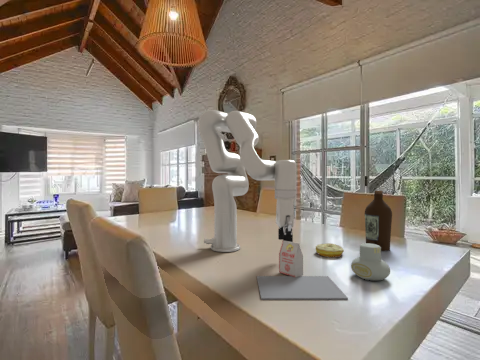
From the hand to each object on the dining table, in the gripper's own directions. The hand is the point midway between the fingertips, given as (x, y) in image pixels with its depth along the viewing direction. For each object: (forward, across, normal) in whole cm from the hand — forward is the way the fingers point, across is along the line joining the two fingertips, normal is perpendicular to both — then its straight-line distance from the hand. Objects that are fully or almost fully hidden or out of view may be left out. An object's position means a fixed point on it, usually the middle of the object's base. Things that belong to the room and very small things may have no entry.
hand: (285, 242), depth 97 cm
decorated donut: (+8, -11, +20) cm, 24 cm away
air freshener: (+8, +14, +24) cm, 28 cm away
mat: (+7, +21, 0) cm, 22 cm away
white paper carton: (+7, +11, 0) cm, 13 cm away
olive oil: (+8, -20, +44) cm, 49 cm away
